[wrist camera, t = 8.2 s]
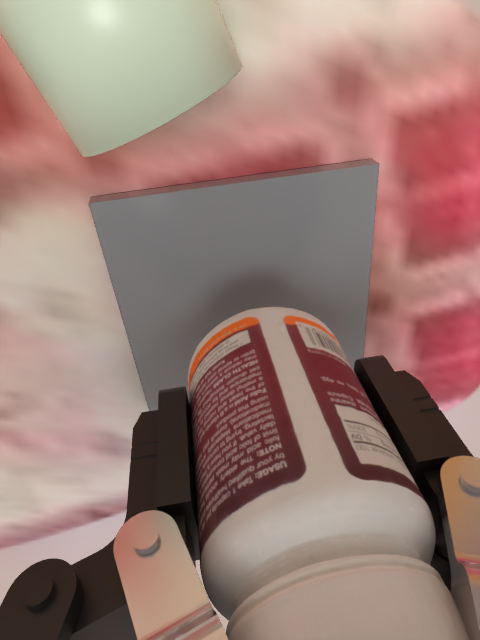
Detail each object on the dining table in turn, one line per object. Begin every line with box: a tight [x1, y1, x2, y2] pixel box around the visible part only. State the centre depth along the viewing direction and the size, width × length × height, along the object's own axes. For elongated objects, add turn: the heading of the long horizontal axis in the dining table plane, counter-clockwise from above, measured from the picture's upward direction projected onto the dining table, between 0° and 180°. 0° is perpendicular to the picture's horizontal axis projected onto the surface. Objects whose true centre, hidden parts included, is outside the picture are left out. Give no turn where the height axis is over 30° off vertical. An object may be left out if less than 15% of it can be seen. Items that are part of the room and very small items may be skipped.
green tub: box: [0, 0, 242, 157], centre depth 10 cm, size 4×4×4 cm
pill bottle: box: [188, 307, 470, 640], centre depth 10 cm, size 5×5×8 cm
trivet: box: [89, 159, 379, 411], centre depth 17 cm, size 9×9×1 cm
